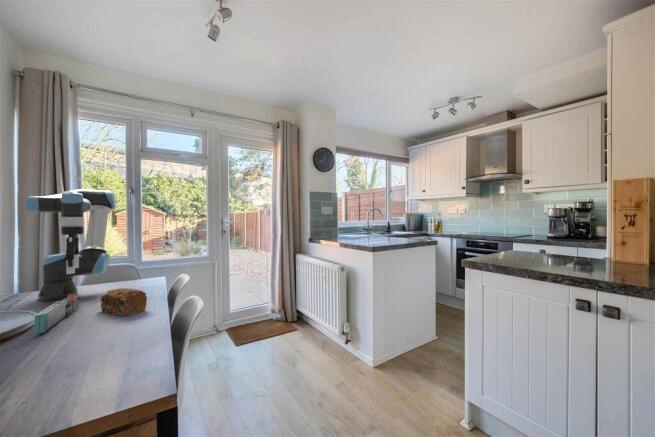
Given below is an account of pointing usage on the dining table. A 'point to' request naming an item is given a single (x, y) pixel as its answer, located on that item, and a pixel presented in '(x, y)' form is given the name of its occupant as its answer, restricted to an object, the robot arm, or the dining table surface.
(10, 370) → the dining table surface
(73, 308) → the base
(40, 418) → the dining table surface
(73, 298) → the tab
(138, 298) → the bread
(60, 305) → the jaw
